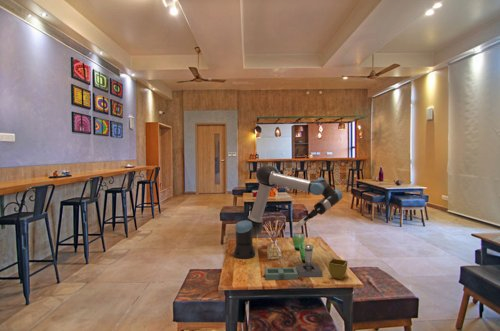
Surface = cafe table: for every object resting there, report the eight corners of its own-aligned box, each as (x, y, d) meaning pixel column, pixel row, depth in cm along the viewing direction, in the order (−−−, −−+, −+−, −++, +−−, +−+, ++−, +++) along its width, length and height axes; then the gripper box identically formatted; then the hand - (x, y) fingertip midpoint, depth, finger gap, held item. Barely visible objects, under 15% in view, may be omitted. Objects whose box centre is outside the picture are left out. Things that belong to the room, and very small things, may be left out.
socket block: (295, 268, 184) (295, 264, 184) (316, 268, 184) (316, 263, 184) (299, 277, 171) (299, 272, 171) (322, 276, 171) (322, 271, 171)
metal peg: (304, 271, 179) (304, 244, 179) (311, 271, 179) (311, 244, 179) (305, 274, 175) (305, 247, 175) (313, 273, 175) (312, 246, 175)
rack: (264, 273, 178) (264, 268, 178) (294, 272, 178) (294, 267, 178) (265, 279, 168) (265, 274, 168) (297, 279, 168) (297, 273, 168)
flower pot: (332, 273, 176) (332, 258, 175) (347, 276, 171) (347, 260, 171) (328, 278, 168) (328, 262, 168) (344, 281, 164) (343, 265, 163)
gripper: (332, 206, 180) (306, 226, 173) (320, 216, 203) (296, 234, 196) (324, 196, 182) (298, 216, 176) (313, 207, 205) (289, 225, 198)
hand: (297, 226), depth 186 cm, fingers open, 13 cm apart
